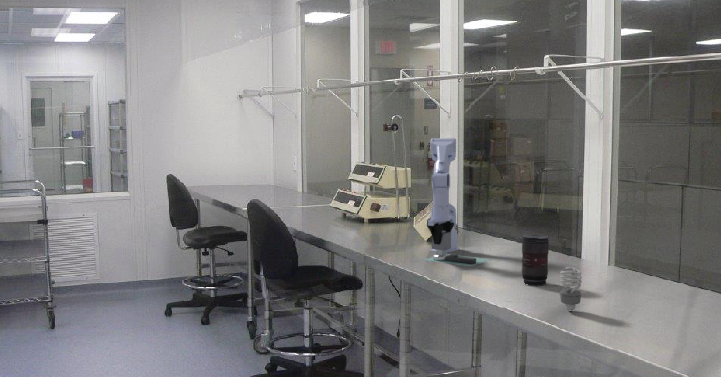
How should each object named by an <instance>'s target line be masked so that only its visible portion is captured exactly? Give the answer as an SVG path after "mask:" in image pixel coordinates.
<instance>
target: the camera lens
mask: <svg viewBox="0 0 721 377" xmlns="http://www.w3.org/2000/svg"><path fill="white" fill-rule="evenodd" d="M521 240H522V241H521V254H522V258H521V263H522V266H521V278H522V279H523V284H524V283H525V284H524V285H526V284H528V285H527V286H530V285H536V286H535V287H537V286H538V285H541V286H544V285H546V283H547V279H548V274H549V273H548V272H549V262H548V261H549V260H548V259H549V250H550V249H549V247H550V246H549V245H550V242H549V241H550V240H549V236H546V235H541V234H525V235H523V236H522V239H521ZM538 287H539V286H538Z"/></svg>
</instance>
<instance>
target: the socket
mask: <svg viewBox="0 0 721 377" xmlns="http://www.w3.org/2000/svg"><path fill="white" fill-rule="evenodd" d="M450 248H451V232H446V230H442V233H441V241H440V244H439V245H438V244H434V241H433V237H432V236H431V249H437V250H447V249H450Z"/></svg>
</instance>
